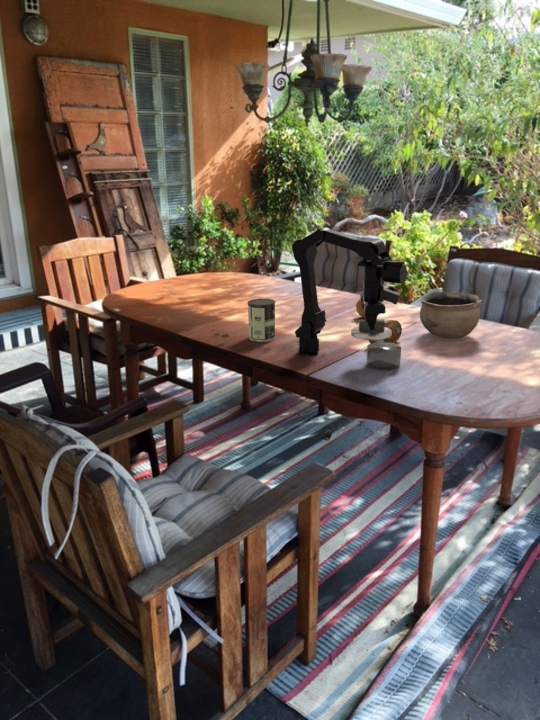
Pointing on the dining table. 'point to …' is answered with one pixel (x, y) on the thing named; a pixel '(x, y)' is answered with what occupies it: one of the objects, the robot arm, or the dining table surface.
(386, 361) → the pot
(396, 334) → the tin
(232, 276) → the dining table surface
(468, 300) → the ceramic bowl
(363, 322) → the lid
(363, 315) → the onion
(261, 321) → the coffee can
